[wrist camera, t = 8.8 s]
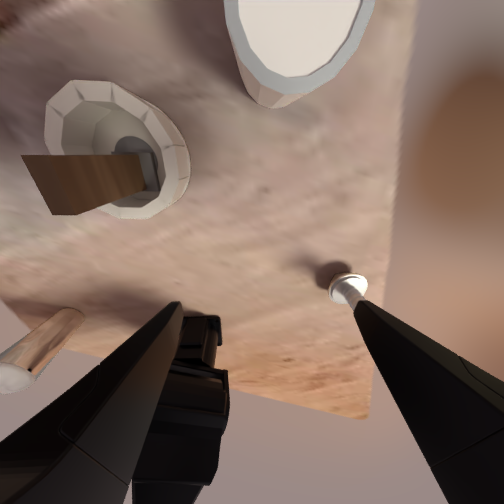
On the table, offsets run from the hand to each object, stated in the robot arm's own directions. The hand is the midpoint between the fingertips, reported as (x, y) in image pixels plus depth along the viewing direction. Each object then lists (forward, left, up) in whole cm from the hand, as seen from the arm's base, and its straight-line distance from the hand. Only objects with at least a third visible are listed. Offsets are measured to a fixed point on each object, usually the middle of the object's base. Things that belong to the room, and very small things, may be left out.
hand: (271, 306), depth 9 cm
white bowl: (+6, +11, -12) cm, 18 cm away
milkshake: (-14, +26, -13) cm, 32 cm away
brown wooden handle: (+5, +11, -12) cm, 17 cm away
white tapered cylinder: (+13, -1, -13) cm, 18 cm away
